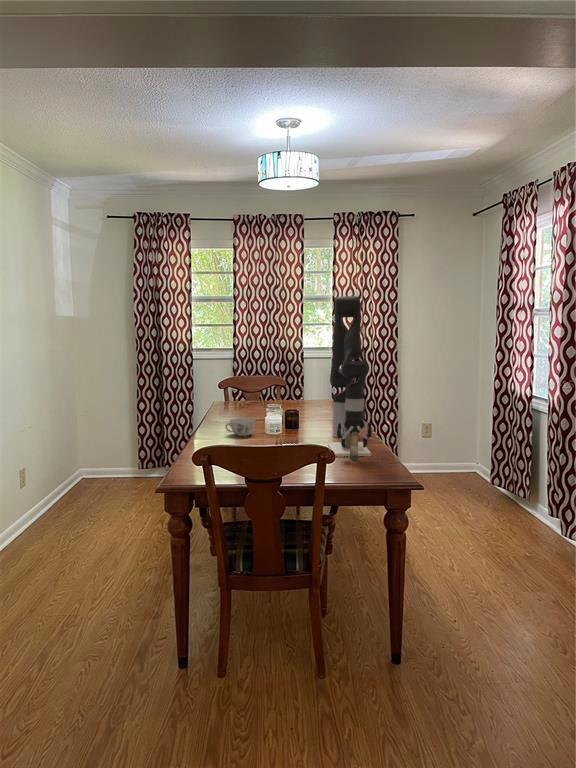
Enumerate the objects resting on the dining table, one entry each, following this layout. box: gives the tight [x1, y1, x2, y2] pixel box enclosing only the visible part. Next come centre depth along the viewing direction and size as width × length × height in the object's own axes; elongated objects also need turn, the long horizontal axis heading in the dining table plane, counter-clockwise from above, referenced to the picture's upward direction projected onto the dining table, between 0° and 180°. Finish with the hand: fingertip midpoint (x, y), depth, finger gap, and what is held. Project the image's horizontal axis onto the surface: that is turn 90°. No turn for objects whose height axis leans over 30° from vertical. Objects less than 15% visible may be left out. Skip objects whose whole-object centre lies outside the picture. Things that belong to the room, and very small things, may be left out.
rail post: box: [349, 432, 359, 461], centre depth 243 cm, size 3×3×12 cm
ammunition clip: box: [274, 435, 299, 446], centre depth 232 cm, size 11×2×12 cm, turn 117°
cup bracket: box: [327, 429, 372, 458], centre depth 257 cm, size 20×16×9 cm
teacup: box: [225, 417, 256, 437], centre depth 288 cm, size 15×12×8 cm
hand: (354, 447), depth 243 cm, fingers open, 8 cm apart
